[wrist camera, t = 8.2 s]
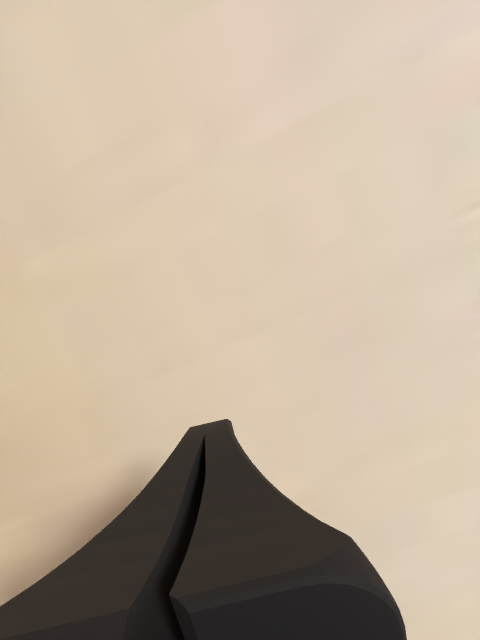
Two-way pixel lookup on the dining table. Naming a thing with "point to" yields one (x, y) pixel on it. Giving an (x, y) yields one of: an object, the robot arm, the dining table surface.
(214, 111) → the dining table surface
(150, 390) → the dining table surface
